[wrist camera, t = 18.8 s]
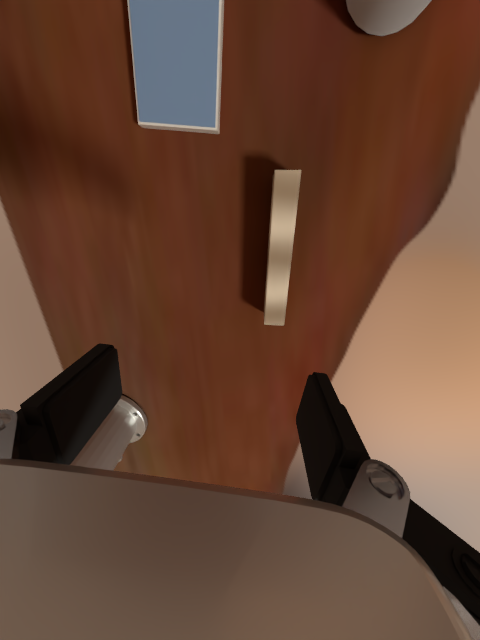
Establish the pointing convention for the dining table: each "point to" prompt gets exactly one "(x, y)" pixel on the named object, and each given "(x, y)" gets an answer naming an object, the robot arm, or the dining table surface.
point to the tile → (177, 63)
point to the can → (384, 14)
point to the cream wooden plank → (280, 243)
